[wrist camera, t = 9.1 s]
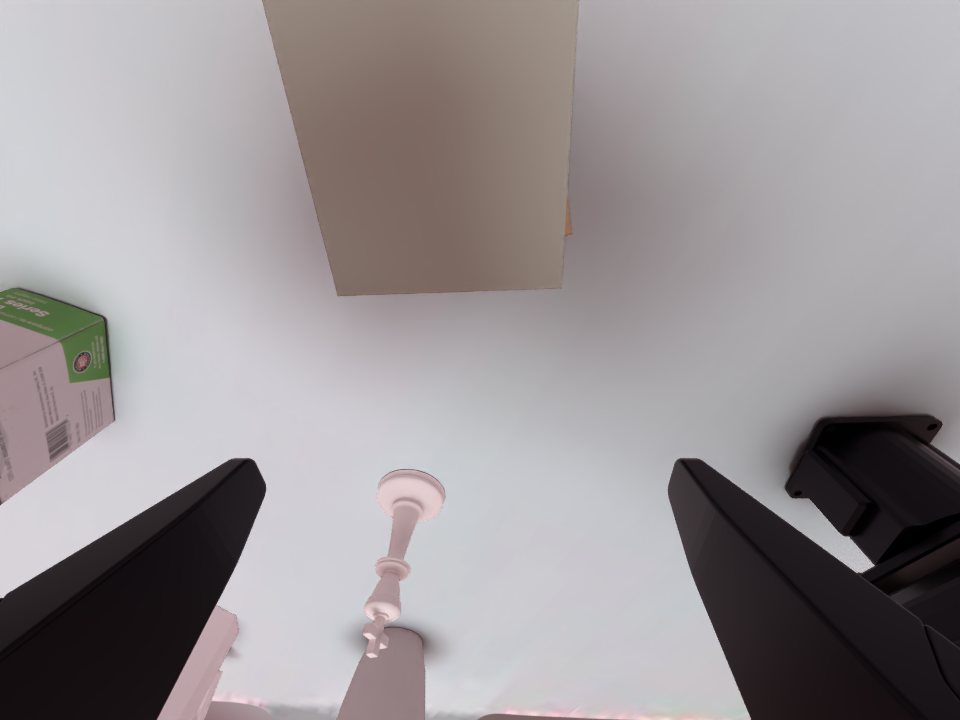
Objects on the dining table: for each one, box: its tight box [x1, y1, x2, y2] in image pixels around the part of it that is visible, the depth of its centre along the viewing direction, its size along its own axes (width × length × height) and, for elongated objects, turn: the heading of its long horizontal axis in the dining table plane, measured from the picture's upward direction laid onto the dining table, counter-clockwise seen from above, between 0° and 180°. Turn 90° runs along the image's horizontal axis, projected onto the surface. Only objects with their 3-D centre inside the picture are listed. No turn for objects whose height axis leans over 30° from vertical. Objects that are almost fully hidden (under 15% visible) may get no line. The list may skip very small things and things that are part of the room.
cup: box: [337, 627, 425, 720], centre depth 34 cm, size 8×8×10 cm
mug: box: [157, 605, 239, 720], centre depth 35 cm, size 12×9×10 cm
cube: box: [262, 0, 579, 296], centre depth 9 cm, size 5×5×5 cm
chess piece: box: [363, 470, 445, 658], centre depth 23 cm, size 5×5×10 cm
